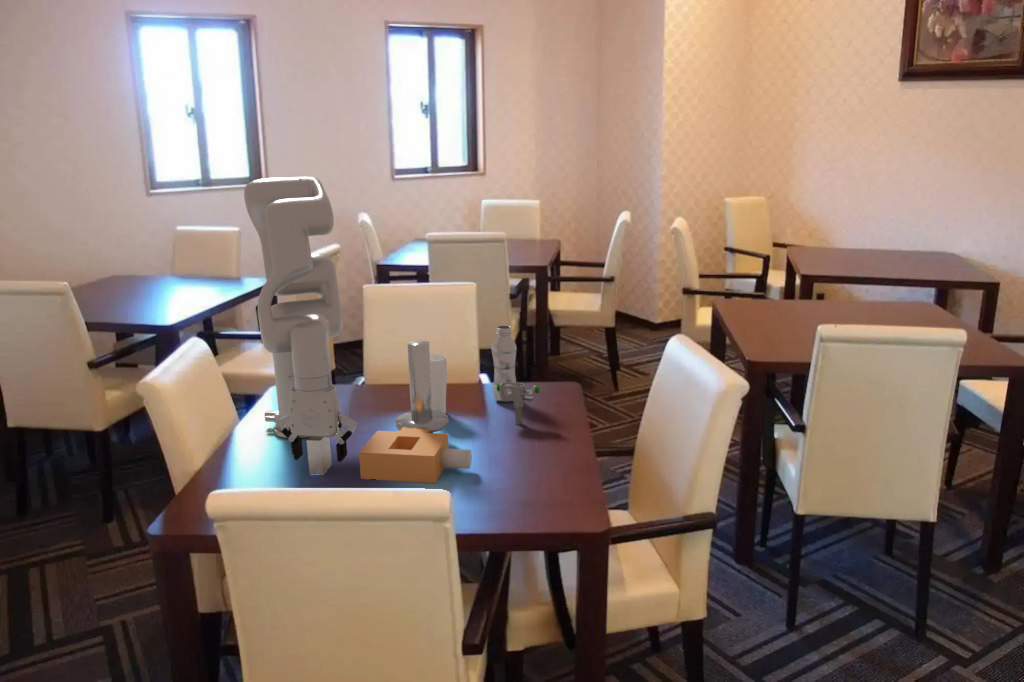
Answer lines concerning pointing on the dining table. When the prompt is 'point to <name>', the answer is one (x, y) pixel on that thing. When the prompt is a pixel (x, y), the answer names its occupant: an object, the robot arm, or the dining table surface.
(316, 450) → the white block
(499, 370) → the plastic bottle
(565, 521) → the dining table surface
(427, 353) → the post
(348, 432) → the robot arm
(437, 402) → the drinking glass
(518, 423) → the mechanical component
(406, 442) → the bracket head
